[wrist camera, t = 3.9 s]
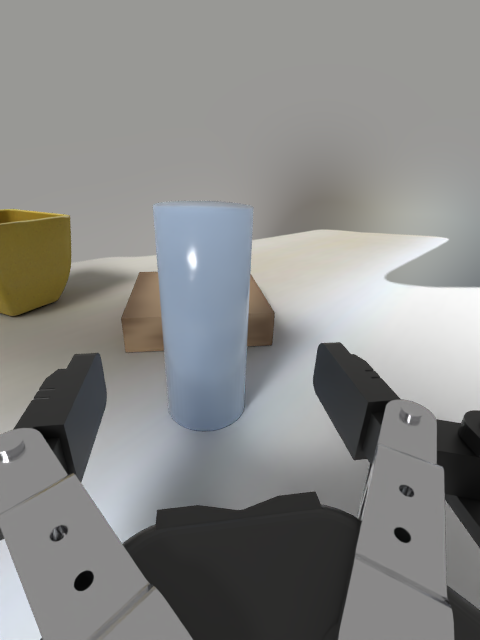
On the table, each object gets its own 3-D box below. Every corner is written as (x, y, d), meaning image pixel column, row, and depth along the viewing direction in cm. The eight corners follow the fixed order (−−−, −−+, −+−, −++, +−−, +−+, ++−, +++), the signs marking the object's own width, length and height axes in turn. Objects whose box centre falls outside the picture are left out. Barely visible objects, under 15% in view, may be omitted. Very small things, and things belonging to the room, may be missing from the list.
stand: (125, 352, 26) (121, 318, 25) (142, 297, 37) (139, 272, 36) (271, 345, 28) (274, 313, 27) (247, 295, 39) (248, 270, 38)
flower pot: (31, 286, 40) (11, 207, 36) (86, 298, 37) (72, 213, 33) (-52, 312, 32) (-88, 216, 28) (9, 330, 29) (-22, 226, 25)
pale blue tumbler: (166, 434, 19) (148, 211, 14) (169, 383, 23) (156, 200, 18) (250, 427, 19) (263, 213, 14) (238, 379, 24) (244, 201, 19)
